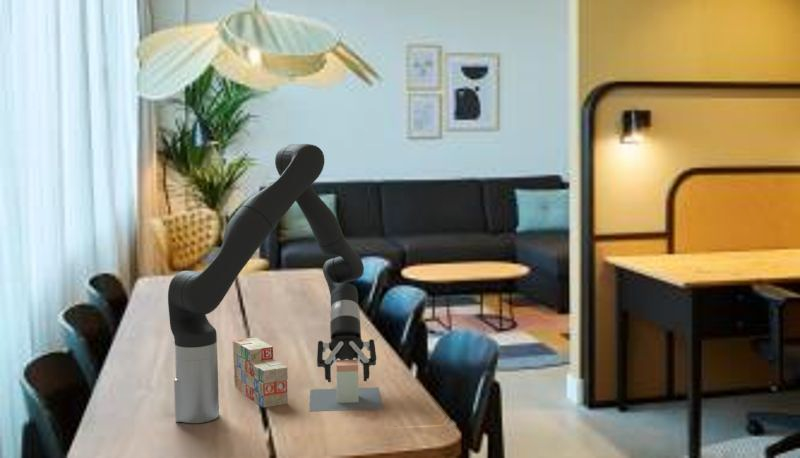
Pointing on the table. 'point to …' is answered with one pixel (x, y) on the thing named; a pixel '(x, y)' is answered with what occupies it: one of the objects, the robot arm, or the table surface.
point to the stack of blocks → (259, 372)
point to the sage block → (347, 381)
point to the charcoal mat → (328, 402)
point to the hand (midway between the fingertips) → (347, 380)
